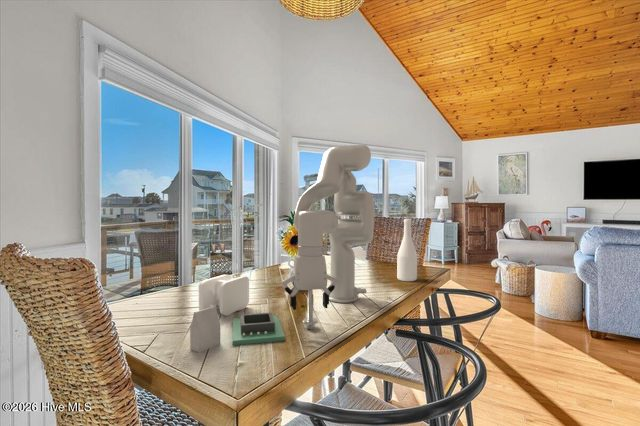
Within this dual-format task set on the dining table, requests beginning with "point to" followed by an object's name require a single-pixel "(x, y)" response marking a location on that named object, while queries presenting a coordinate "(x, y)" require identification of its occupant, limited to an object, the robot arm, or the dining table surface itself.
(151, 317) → the dining table surface
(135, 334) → the dining table surface
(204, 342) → the tea bag
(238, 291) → the cable organizer
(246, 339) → the board
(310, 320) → the screw
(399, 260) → the wine bottle
